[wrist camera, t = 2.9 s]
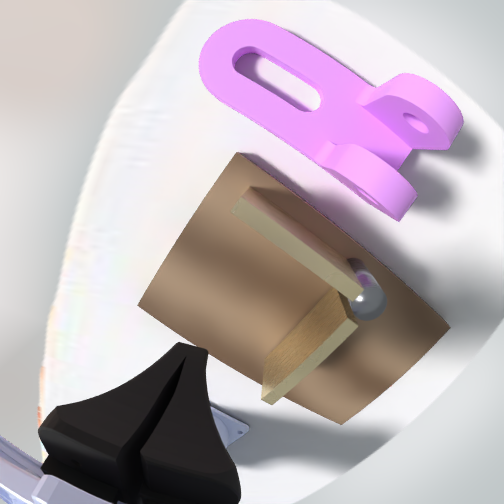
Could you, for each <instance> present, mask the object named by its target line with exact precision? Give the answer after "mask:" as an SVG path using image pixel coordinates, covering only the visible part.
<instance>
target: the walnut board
mask: <svg viewBox="0 0 504 504" xmlns="http://www.w3.org/2000/svg"><path fill="white" fill-rule="evenodd" d="M249 187H252V188H253V189H255V190H256V191H257V192H259V193H260V194H261V195H263V196H264V197H266V198H267V199H268V200H270V201H271V202H272V203H274V204H275V205H276V206H278V207H279V208H281V209H282V210H283V211H285V212H286V213H287V214H289V215H290V216H291V217H293V218H294V219H295V220H297V221H298V222H299V223H301V224H302V225H303V226H305V227H306V228H307V229H308V230H310V231H311V232H312V233H314V234H315V235H316V236H318V237H319V238H320V239H321V240H323V241H324V242H325V243H327V244H328V245H329V246H330V247H332V248H333V249H334V250H336V251H337V252H338V253H339V254H341V255H342V256H343V257H344V258H346V259H348V258H358V259H360V260H361V261H362V262H363V263H364V264H365V265H366V267H367V268H368V270H369V271H370V273H371V274H372V275H373V277H374V278H375V280H376V281H377V283H378V284H379V285H380V287H381V288H382V290H383V291H384V293H385V294H386V297H387V306H386V308H385V310H384V312H383V313H382V314H381V315H380V316H379V317H377V318H375V319H373V320H369V321H364V320H360V319H358V318H357V317H356V316H355V315H354V316H355V318H356V321H357V323H358V327H357V328H356V329H355V330H354V331H353V332H352V333H351V334H350V335H349V336H348V337H347V338H346V339H345V340H344V341H343V342H342V343H341V344H340V345H339V346H338V347H337V348H336V349H335V350H334V351H333V352H332V353H331V354H330V355H329V356H328V357H327V358H326V359H325V360H324V361H322V362H321V363H320V364H319V365H318V366H317V367H316V368H315V369H314V370H313V371H312V372H310V373H309V374H308V375H307V376H306V377H305V378H304V379H303V380H301V381H300V382H299V383H298V384H297V385H296V386H295V387H293V388H292V389H291V390H290V391H289V392H288V393H286V394H285V395H284V396H283V397H285V398H287V399H289V400H291V401H293V402H295V403H297V404H299V405H301V406H303V407H305V408H307V409H309V410H311V411H313V412H315V413H317V414H319V415H321V416H323V417H325V418H327V419H329V420H332V421H334V422H336V423H338V424H340V425H342V424H344V423H345V422H346V421H348V420H349V419H350V418H352V417H353V416H354V415H356V414H357V413H358V412H360V411H361V410H362V409H363V408H365V407H366V406H367V405H368V404H370V403H371V402H372V401H373V400H375V399H376V398H377V397H378V396H380V395H381V394H382V393H383V392H384V391H385V390H387V389H388V388H389V387H390V386H391V385H392V384H394V383H395V382H396V381H397V380H398V379H399V378H400V377H401V376H403V375H404V374H405V373H406V372H407V371H408V370H409V369H410V368H411V367H412V366H413V365H414V364H415V363H417V362H418V361H419V360H420V359H421V358H422V357H423V356H424V355H425V354H426V353H427V352H428V351H429V350H430V349H431V348H432V347H433V346H434V345H435V344H436V343H437V342H438V340H439V339H440V338H441V337H442V336H443V335H444V334H445V333H446V332H447V331H448V330H449V329H450V328H451V327H450V326H449V325H448V324H447V323H446V321H445V320H444V319H443V318H442V317H441V316H439V315H438V314H437V313H436V312H435V311H434V310H433V309H432V308H431V307H430V306H429V305H428V304H427V303H426V302H425V301H424V300H422V299H421V298H420V297H419V296H418V295H417V294H416V293H415V292H414V291H413V290H412V289H410V288H409V287H408V286H407V285H406V284H405V283H404V282H403V281H402V280H400V279H399V278H398V277H397V276H396V275H395V274H394V273H392V272H391V271H390V270H389V269H388V268H387V267H386V266H384V265H383V264H382V263H381V262H380V261H379V260H377V259H376V258H375V257H374V256H373V255H372V254H370V253H369V252H368V251H367V250H366V249H365V248H363V247H362V246H361V245H360V244H359V243H357V242H356V241H355V240H354V239H352V238H351V237H350V236H349V235H348V234H346V233H345V232H344V231H343V230H341V229H340V228H339V227H338V226H336V225H335V224H334V223H333V222H331V221H330V220H329V219H328V218H326V217H325V216H324V215H323V214H321V213H320V212H319V211H318V210H316V209H315V208H314V207H312V206H311V205H310V204H309V203H307V202H306V201H305V200H303V199H302V198H301V197H299V196H298V195H297V194H295V193H294V192H293V191H291V190H290V189H289V188H287V187H286V186H285V185H283V184H282V183H281V182H279V181H278V180H277V179H275V178H274V177H273V176H271V175H270V174H268V173H267V172H266V171H264V170H263V169H261V168H260V167H259V166H257V165H256V164H255V163H253V162H252V161H250V160H249V159H247V158H246V157H245V156H243V155H242V154H240V153H239V152H236V154H235V155H234V156H233V158H232V159H231V161H230V162H229V163H228V165H227V166H226V168H225V169H224V171H223V172H222V173H221V175H220V176H219V178H218V179H217V181H216V182H215V183H214V185H213V186H212V188H211V189H210V191H209V192H208V194H207V195H206V197H205V198H204V200H203V201H202V203H201V204H200V206H199V207H198V209H197V210H196V212H195V213H194V215H193V216H192V218H191V219H190V221H189V222H188V224H187V225H186V227H185V228H184V230H183V231H182V233H181V235H180V236H179V238H178V239H177V241H176V242H175V244H174V246H173V247H172V249H171V250H170V252H169V254H168V255H167V257H166V258H165V260H164V262H163V263H162V265H161V266H160V268H159V270H158V271H157V273H156V275H155V276H154V278H153V280H152V281H151V283H150V285H149V286H148V288H147V290H146V291H145V293H144V295H143V297H142V298H141V300H140V302H139V303H138V305H137V306H139V307H140V308H142V309H143V310H144V311H146V312H147V313H149V314H150V315H151V316H153V317H154V318H156V319H157V320H158V321H160V322H161V323H163V324H164V325H166V326H167V327H169V328H170V329H172V330H173V331H174V332H176V333H177V334H179V335H180V336H182V337H183V338H185V339H186V340H188V341H190V342H191V343H193V344H194V345H196V346H197V347H200V348H204V349H207V350H208V352H209V353H208V354H210V355H212V356H213V357H215V358H216V359H218V360H220V361H221V362H223V363H225V364H226V365H228V366H230V367H231V368H233V369H235V370H236V371H238V372H240V373H242V374H243V375H245V376H247V377H248V378H250V379H252V380H254V381H256V382H257V383H259V384H261V385H262V383H263V372H264V360H265V358H266V357H267V356H268V355H269V354H270V353H271V352H272V351H273V350H274V349H275V348H276V347H277V346H278V345H279V344H280V343H281V342H282V341H283V340H284V339H285V338H286V336H287V335H288V334H289V333H290V332H291V331H292V330H293V329H294V328H295V327H296V326H297V325H298V324H299V323H300V322H301V321H302V320H303V319H304V318H305V317H306V315H307V314H308V313H309V312H310V311H311V310H312V309H313V308H314V307H315V306H316V305H317V304H318V302H319V301H320V300H321V299H322V298H323V297H324V296H325V295H326V294H327V292H328V291H329V290H330V289H331V288H332V286H331V285H330V284H328V283H327V282H326V281H324V280H323V279H321V278H320V277H319V276H317V275H316V274H315V273H313V272H312V271H311V270H309V269H308V268H307V267H305V266H304V265H303V264H301V263H300V262H298V261H297V260H296V259H294V258H293V257H292V256H290V255H289V254H287V253H286V252H285V251H283V250H282V249H281V248H279V247H278V246H277V245H275V244H274V243H272V242H271V241H270V240H268V239H267V238H265V237H264V236H263V235H261V234H260V233H259V232H257V231H256V230H254V229H253V228H252V227H250V226H249V225H247V224H246V223H245V222H243V221H242V220H241V219H239V218H238V217H236V216H235V215H234V214H232V213H231V212H230V211H231V210H232V208H233V207H234V206H235V204H236V203H237V201H238V200H239V199H240V197H241V196H242V195H243V194H244V193H245V191H246V190H247V189H248V188H249Z"/></svg>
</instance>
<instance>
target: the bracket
mask: <svg viewBox="0 0 504 504" xmlns="http://www.w3.org/2000/svg"><path fill="white" fill-rule="evenodd" d="M247 53H256V54H259V55H260V56H262V57H264V58H266V59H268V60H269V61H271V62H273V63H275V64H276V65H278V66H280V67H281V68H283V69H285V70H286V71H288V72H290V73H291V74H293V75H294V76H296V77H298V78H299V79H301V80H302V81H304V82H305V83H307V84H308V85H310V86H311V87H313V88H314V89H316V90H317V92H318V93H319V95H320V99H321V103H320V106H319V108H318V109H317V110H315V111H312V112H303V111H300V110H298V109H297V108H295V107H294V106H292V105H291V104H289V103H288V102H286V101H284V100H283V99H281V98H280V97H278V96H277V95H275V94H273V93H272V92H270V91H268V90H267V89H265V88H263V87H262V86H260V85H258V84H257V83H255V82H253V81H252V80H250V79H248V78H246V77H245V76H243V75H241V74H239V73H238V72H237V71H235V64H236V61H237V60H238V58H239V57H241V56H242V55H244V54H247ZM199 72H200V76H201V79H202V81H203V83H204V85H205V87H206V88H207V89H208V91H209V92H210V93H211V94H212V95H214V96H215V97H216V98H217V99H218V100H219V101H221V102H222V103H224V104H226V105H227V106H229V107H231V108H232V109H234V110H236V111H237V112H239V113H241V114H242V115H244V116H245V117H247V118H249V119H250V120H252V121H253V122H255V123H257V124H258V125H260V126H261V127H263V128H264V129H266V130H268V131H269V132H271V133H272V134H274V135H275V136H277V137H278V138H280V139H281V140H283V141H284V142H286V143H287V144H289V145H290V146H292V147H293V148H294V149H296V150H297V151H299V152H300V153H302V154H303V155H304V156H306V157H307V158H309V159H310V160H312V161H313V162H314V163H316V164H317V165H318V166H320V167H321V168H323V169H324V170H325V171H327V172H328V173H329V174H331V175H332V176H333V177H335V178H336V179H337V180H339V181H340V182H341V183H343V184H344V185H345V186H347V187H348V188H349V189H350V190H352V191H353V192H354V193H355V194H357V195H358V196H359V197H361V198H362V199H363V200H364V201H366V202H367V203H369V204H370V205H372V206H374V207H375V208H377V209H378V210H380V211H382V212H383V213H385V214H387V215H388V216H390V217H391V218H393V219H395V220H396V221H398V222H400V220H401V219H402V218H403V216H404V215H405V213H406V212H407V211H408V209H409V208H410V206H411V205H412V204H413V202H414V201H415V199H416V198H417V196H418V194H417V192H416V191H415V189H414V188H413V187H412V186H411V184H410V183H409V182H408V181H407V180H406V179H405V178H404V177H403V176H402V175H401V174H399V173H398V172H397V171H398V169H399V168H400V166H401V165H402V163H403V162H404V160H405V159H406V158H407V156H408V155H409V153H410V152H411V150H412V149H429V150H447V149H449V147H450V146H451V144H452V143H453V141H454V139H455V138H456V136H457V134H458V133H459V131H460V129H461V127H462V126H463V123H464V120H463V116H462V113H461V111H460V109H459V108H458V106H457V105H456V104H455V102H454V101H453V100H452V99H451V98H450V97H449V96H448V95H447V94H446V93H445V92H444V91H443V90H442V89H440V88H439V87H438V86H436V85H435V84H433V83H432V82H430V81H428V80H426V79H424V78H422V77H420V76H417V75H414V74H409V73H402V74H399V75H397V76H396V77H394V78H392V79H391V80H389V81H388V82H386V83H384V84H383V85H381V86H379V87H378V88H376V87H373V86H371V85H369V84H368V83H366V82H365V81H364V80H362V79H361V78H360V77H358V76H357V75H355V74H354V73H353V72H351V71H350V70H348V69H347V68H346V67H344V66H343V65H341V64H340V63H338V62H337V61H335V60H334V59H332V58H331V57H329V56H328V55H326V54H325V53H323V52H322V51H320V50H318V49H317V48H315V47H314V46H312V45H310V44H309V43H307V42H305V41H304V40H302V39H300V38H299V37H297V36H295V35H293V34H292V33H290V32H288V31H286V30H284V29H283V28H281V27H279V26H277V25H275V24H273V23H270V22H267V21H263V20H257V19H245V20H239V21H235V22H232V23H229V24H227V25H225V26H223V27H221V28H220V29H218V30H217V31H216V32H214V33H213V34H212V35H211V36H210V37H209V39H208V40H207V41H206V43H205V44H204V46H203V48H202V51H201V54H200V58H199Z"/></svg>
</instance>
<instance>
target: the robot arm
mask: <svg viewBox="0 0 504 504" xmlns="http://www.w3.org/2000/svg"><path fill="white" fill-rule="evenodd" d="M208 353H209V352H208V350H207V349H204V348H200V347H196V346H192V345H189V344H185V343H181V342H178V343H176V344H175V345H174V346H173V347H172V348H171V349H170V350H169V351H168V352H167V353H166V354H165V355H163V356H162V357H161V358H160V359H159V360H158V361H156V362H155V363H154V364H153V365H151V366H150V367H149V368H147V369H146V370H145V371H143V372H142V373H140V374H139V375H137V376H136V377H134V378H133V379H131V380H129V381H128V382H126V383H124V384H122V385H121V386H119V387H117V388H115V389H112V390H110V391H108V392H106V393H104V394H101V395H99V396H96V397H93V398H90V399H87V400H83V401H80V402H76V403H71V404H66V405H61V406H56V408H55V409H54V410H53V411H52V412H51V413H50V414H49V415H48V416H47V418H46V419H45V420H44V422H43V423H42V425H41V426H40V427H39V429H38V434H39V437H40V440H41V441H42V443H43V445H44V447H45V449H46V451H47V453H48V454H49V455H48V457H47V458H46V460H45V461H44V463H43V464H42V463H41V462H39V461H37V460H36V459H34V458H33V457H31V456H29V455H28V454H26V453H25V452H23V451H22V450H20V449H19V448H17V447H16V446H14V445H13V444H12V443H10V442H9V441H7V440H6V439H5V438H3V437H2V436H0V498H1V499H3V500H4V501H5V502H6V503H8V504H238V503H239V501H240V499H241V486H240V481H239V477H238V473H237V468H236V466H235V464H234V462H233V461H232V459H231V457H230V455H229V454H228V452H227V446H229V445H230V444H231V443H233V442H234V441H236V440H237V439H239V438H240V437H241V436H243V435H244V434H246V433H247V432H248V431H249V426H248V425H246V424H244V423H242V422H240V421H238V420H236V419H234V418H232V417H230V416H228V415H226V414H225V413H223V412H221V411H219V410H217V409H215V408H213V407H211V406H210V402H209V397H208V391H207V383H206V365H207V359H208Z"/></svg>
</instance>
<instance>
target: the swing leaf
mask: <svg viewBox="0 0 504 504" xmlns="http://www.w3.org/2000/svg"><path fill="white" fill-rule="evenodd" d="M357 327H358V323H357V321H356V318H355V316H354V313H353V311H352V309H351V306H350V304H349V301H348V299H347V297H346V296H344V295H343V294H342V293H340V292H339V291H338V290H336V289H335V288H334V287H332V288H331V289H330V290H329V291H328V292H327V294H326V295H325V296H324V297H323V298H322V299H321V300H320V301H319V302H318V304H317V305H316V306H315V307H314V308H313V309H312V310H311V311H310V312H309V313H308V314H307V315H306V317H305V318H304V319H303V320H302V321H301V322H300V323H299V324H298V325H297V326H296V327H295V328H294V329H293V330H292V331H291V332H290V333H289V334H288V335H287V336H286V338H285V339H284V340H283V341H282V342H281V343H280V344H279V345H278V346H277V347H276V348H275V349H274V350H273V351H272V352H271V353H270V354H269V355H268V356H267V357H266V358H265V360H264V372H263V383H262V394H261V400H263V401H265V402H266V403H268V404H270V405H273V404H274V403H275V402H277V401H278V400H279V399H280V398H282V397H283V396H284V395H285V394H286V393H288V392H289V391H290V390H291V389H292V388H293V387H295V386H296V385H297V384H298V383H299V382H300V381H301V380H303V379H304V378H305V377H306V376H307V375H308V374H309V373H310V372H312V371H313V370H314V369H315V368H316V367H317V366H318V365H319V364H320V363H321V362H322V361H324V360H325V359H326V358H327V357H328V356H329V355H330V354H331V353H332V352H333V351H334V350H335V349H336V348H337V347H338V346H339V345H340V344H341V343H342V342H343V341H344V340H345V339H346V338H347V337H348V336H349V335H350V334H351V333H352V332H353V331H354V330H355V329H356V328H357Z"/></svg>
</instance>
